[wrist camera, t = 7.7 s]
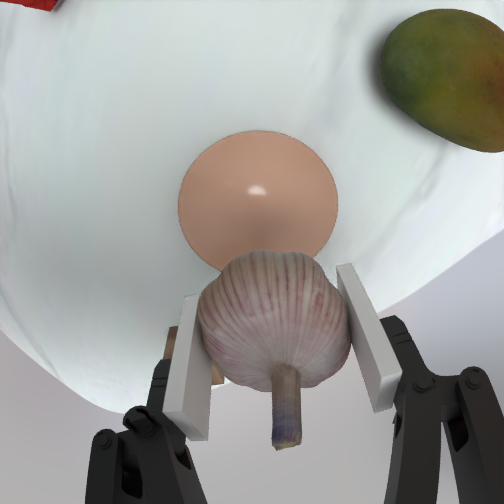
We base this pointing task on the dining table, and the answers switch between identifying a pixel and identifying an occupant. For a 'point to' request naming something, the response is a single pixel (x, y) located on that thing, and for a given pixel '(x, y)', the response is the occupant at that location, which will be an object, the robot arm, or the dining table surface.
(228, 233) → the peach ellipsoid
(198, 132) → the dining table surface
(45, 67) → the dining table surface
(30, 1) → the mug
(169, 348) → the walnut block
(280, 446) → the garlic bulb
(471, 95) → the fruit
